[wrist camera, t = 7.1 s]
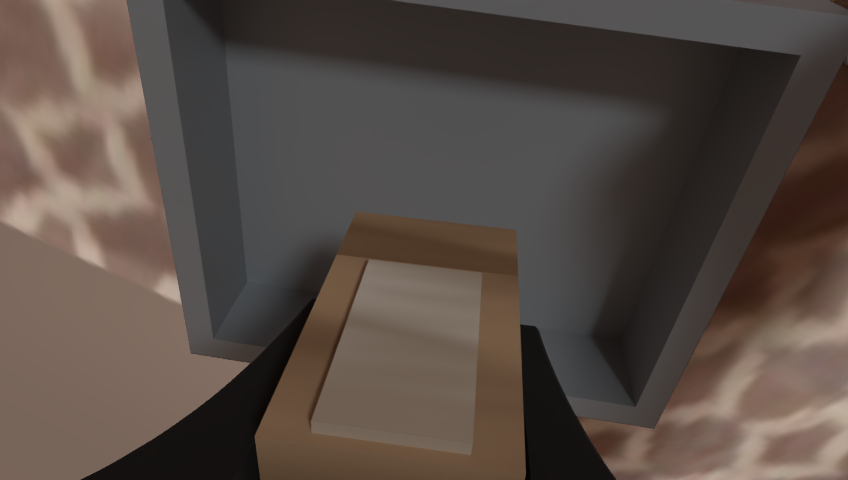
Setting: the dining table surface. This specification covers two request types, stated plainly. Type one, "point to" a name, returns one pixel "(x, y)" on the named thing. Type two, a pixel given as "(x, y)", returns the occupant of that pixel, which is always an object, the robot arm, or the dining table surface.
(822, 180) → the dining table surface
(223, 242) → the bin
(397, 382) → the small brown box
